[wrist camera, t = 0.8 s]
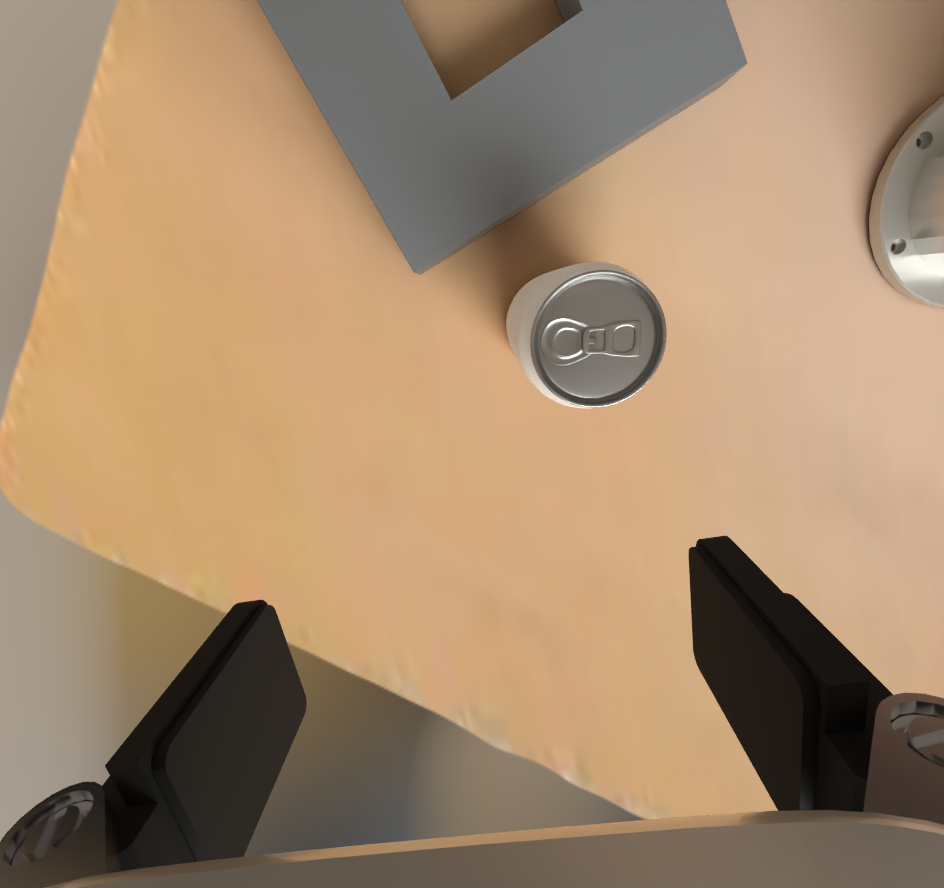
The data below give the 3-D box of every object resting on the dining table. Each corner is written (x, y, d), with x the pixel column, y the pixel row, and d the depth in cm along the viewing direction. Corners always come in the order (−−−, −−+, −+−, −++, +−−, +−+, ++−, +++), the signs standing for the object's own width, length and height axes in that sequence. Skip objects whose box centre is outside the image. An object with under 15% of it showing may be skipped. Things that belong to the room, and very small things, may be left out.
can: (504, 274, 30) (518, 262, 19) (606, 268, 30) (683, 253, 19) (506, 375, 32) (521, 421, 21) (603, 371, 32) (671, 414, 21)
